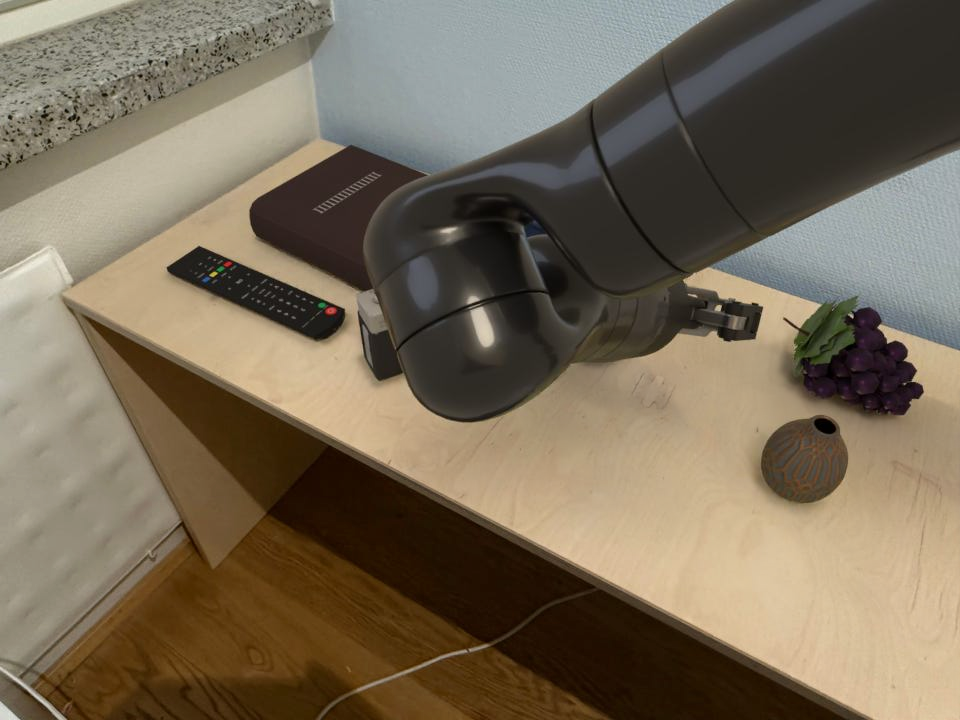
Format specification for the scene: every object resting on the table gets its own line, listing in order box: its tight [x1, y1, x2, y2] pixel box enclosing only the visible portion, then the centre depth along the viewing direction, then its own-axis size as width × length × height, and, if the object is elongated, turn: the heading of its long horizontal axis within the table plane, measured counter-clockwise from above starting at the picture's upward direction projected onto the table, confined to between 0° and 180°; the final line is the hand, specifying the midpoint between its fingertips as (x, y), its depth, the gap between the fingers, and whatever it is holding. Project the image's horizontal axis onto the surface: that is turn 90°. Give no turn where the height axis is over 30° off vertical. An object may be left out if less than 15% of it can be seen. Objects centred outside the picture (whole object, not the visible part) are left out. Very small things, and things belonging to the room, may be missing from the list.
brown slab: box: [248, 144, 429, 292], centre depth 86 cm, size 28×20×6 cm
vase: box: [760, 414, 849, 504], centre depth 60 cm, size 7×7×9 cm
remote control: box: [165, 245, 346, 341], centre depth 80 cm, size 5×24×1 cm, turn 60°
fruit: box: [782, 294, 925, 417], centre depth 69 cm, size 10×11×15 cm
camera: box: [356, 289, 403, 382], centre depth 70 cm, size 14×9×10 cm, turn 111°
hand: (683, 304), depth 56 cm, fingers open, 8 cm apart
